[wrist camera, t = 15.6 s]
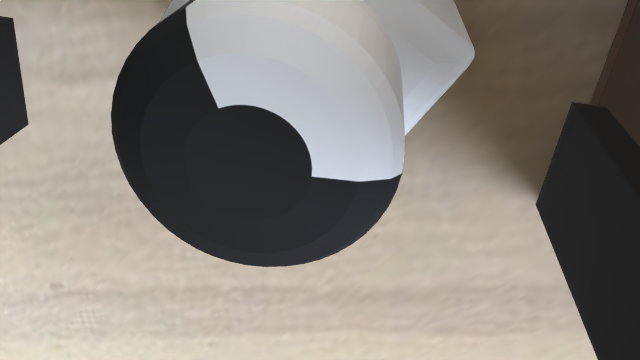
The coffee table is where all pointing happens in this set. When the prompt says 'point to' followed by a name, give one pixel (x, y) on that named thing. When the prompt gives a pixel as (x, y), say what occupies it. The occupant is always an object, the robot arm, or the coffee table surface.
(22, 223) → the coffee table surface
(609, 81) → the chest
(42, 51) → the coffee table surface
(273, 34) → the medicine bottle
